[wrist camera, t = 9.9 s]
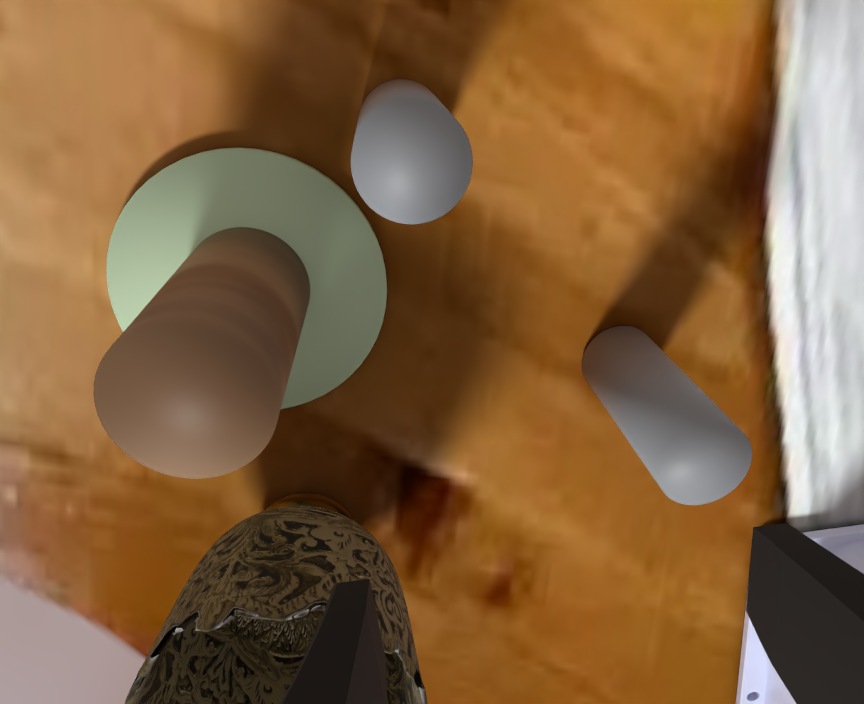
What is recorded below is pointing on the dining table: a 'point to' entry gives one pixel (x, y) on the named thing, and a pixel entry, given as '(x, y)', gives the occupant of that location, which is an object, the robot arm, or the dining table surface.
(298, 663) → the cup
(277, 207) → the coaster
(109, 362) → the dowel
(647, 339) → the post
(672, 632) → the dining table surface
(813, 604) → the robot arm
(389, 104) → the post
